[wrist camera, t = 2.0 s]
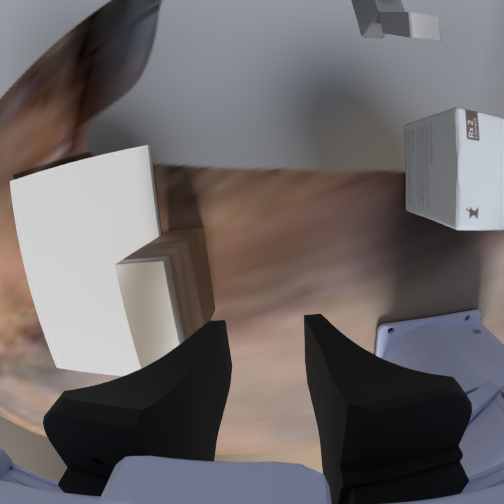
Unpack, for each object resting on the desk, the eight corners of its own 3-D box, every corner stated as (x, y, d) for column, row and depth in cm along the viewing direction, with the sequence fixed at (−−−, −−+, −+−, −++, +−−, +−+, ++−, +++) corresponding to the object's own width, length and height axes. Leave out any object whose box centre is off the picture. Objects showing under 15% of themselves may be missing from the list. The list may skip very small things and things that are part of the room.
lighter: (348, -9, 16) (374, -72, 8) (371, -8, 16) (404, -67, 8) (370, 76, 18) (416, 33, 10) (394, 76, 18) (447, 37, 10)
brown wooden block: (203, 227, 21) (163, 261, 14) (215, 309, 23) (186, 375, 15) (168, 230, 22) (114, 264, 14) (182, 310, 23) (142, 372, 15)
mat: (150, 145, 20) (148, 144, 20) (189, 376, 25) (188, 379, 24) (13, 180, 22) (9, 181, 21) (59, 365, 26) (56, 367, 26)
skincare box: (472, 212, 20) (534, 233, 12) (402, 211, 20) (456, 233, 13) (472, 131, 18) (536, 125, 11) (401, 122, 19) (455, 105, 11)
